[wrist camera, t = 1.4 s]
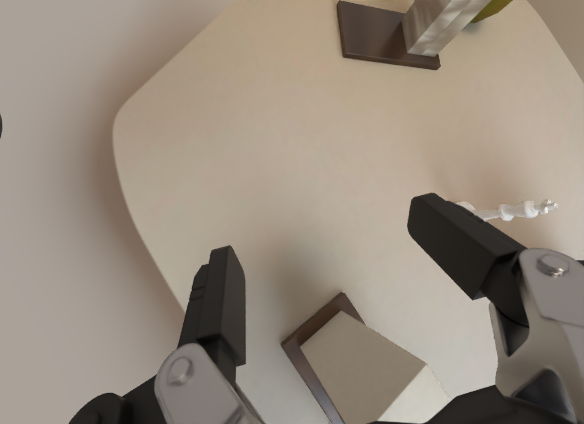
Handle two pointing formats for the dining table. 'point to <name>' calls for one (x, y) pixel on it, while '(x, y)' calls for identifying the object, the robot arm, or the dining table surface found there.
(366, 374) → the white book
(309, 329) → the grey book stand
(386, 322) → the dining table surface
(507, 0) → the apple
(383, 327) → the dining table surface
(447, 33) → the white book stand
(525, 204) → the chess piece
